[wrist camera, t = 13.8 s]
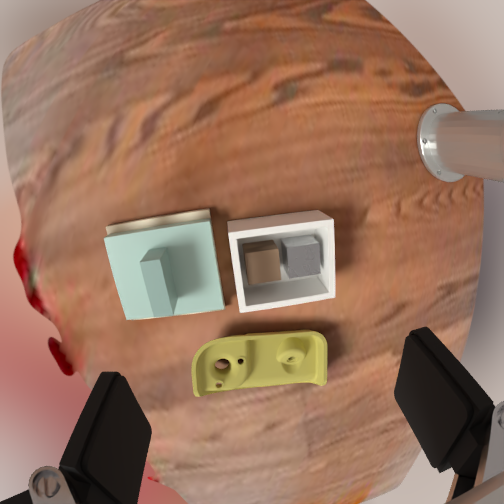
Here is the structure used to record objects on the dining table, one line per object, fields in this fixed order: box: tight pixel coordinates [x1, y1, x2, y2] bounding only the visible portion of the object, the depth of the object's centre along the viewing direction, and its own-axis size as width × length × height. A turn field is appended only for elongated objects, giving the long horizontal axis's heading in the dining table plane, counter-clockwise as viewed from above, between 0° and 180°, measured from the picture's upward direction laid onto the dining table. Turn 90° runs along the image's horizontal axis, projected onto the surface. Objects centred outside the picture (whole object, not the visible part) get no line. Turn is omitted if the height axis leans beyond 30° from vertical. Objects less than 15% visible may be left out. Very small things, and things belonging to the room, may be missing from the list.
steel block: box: [281, 235, 321, 279], centre depth 38 cm, size 4×4×4 cm
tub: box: [227, 210, 335, 313], centre depth 37 cm, size 12×10×6 cm
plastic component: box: [192, 330, 327, 396], centre depth 44 cm, size 20×7×10 cm
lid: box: [104, 218, 224, 320], centre depth 35 cm, size 14×12×6 cm
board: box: [106, 208, 225, 320], centre depth 39 cm, size 14×14×1 cm
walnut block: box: [242, 240, 281, 285], centre depth 37 cm, size 4×4×4 cm
